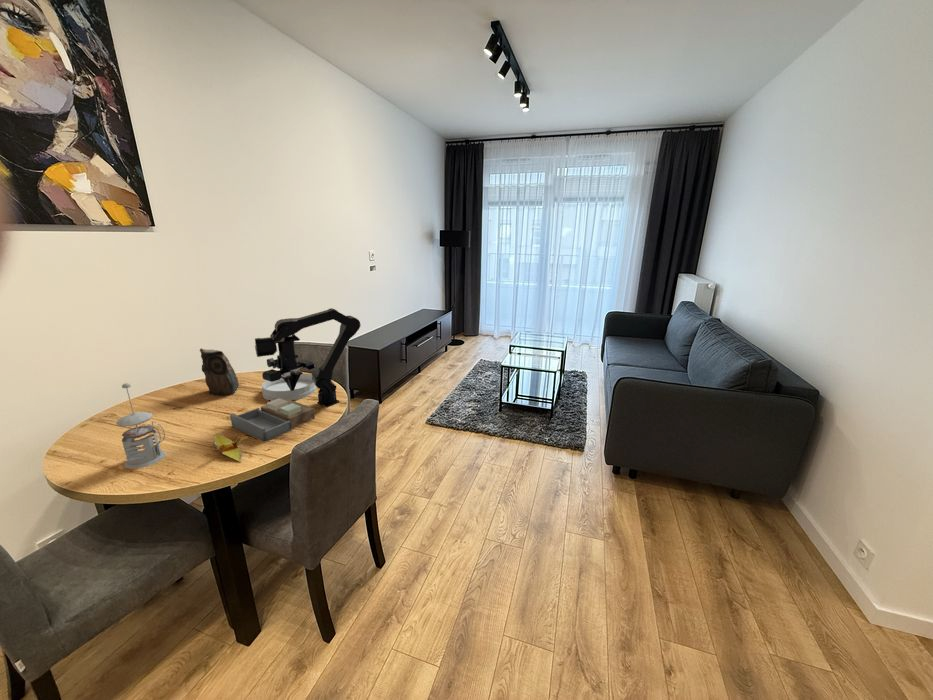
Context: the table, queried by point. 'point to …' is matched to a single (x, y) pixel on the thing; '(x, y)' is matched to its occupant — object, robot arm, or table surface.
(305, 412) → the taupe pedestal platform
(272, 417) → the box
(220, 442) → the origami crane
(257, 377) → the table surface
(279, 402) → the cream tile
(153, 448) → the french press
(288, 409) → the sage tile
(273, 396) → the dish
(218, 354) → the owl
